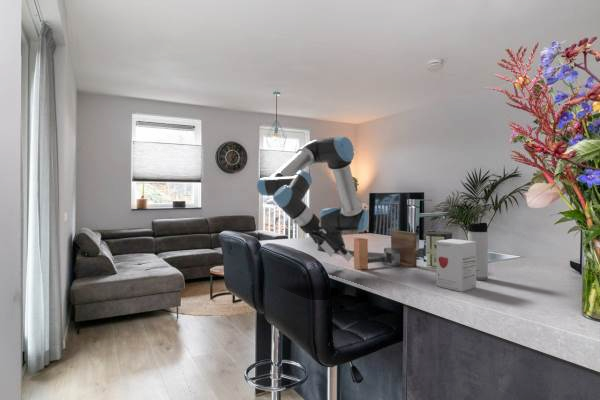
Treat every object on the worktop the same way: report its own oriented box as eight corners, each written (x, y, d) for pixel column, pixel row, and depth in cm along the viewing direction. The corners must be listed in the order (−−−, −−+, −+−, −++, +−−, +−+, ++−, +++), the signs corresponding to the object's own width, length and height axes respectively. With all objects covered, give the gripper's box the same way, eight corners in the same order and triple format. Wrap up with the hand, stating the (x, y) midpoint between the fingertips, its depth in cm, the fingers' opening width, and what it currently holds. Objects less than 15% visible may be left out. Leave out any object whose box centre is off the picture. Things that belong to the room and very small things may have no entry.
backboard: (407, 267, 147) (406, 233, 147) (385, 262, 160) (385, 230, 160) (416, 266, 149) (416, 233, 149) (394, 261, 162) (394, 230, 162)
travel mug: (476, 281, 124) (475, 223, 123) (464, 276, 130) (464, 221, 130) (492, 280, 125) (492, 222, 124) (480, 276, 131) (479, 221, 131)
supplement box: (435, 286, 117) (435, 240, 117) (451, 282, 123) (450, 238, 123) (461, 292, 110) (461, 243, 110) (477, 287, 115) (477, 240, 115)
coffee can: (446, 263, 155) (446, 231, 154) (456, 268, 144) (456, 233, 144) (422, 264, 155) (422, 231, 155) (430, 269, 144) (430, 234, 144)
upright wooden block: (359, 269, 144) (359, 239, 144) (354, 267, 148) (353, 238, 147) (387, 266, 149) (387, 237, 149) (381, 264, 153) (381, 236, 153)
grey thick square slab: (394, 267, 149) (394, 250, 149) (384, 264, 155) (383, 248, 155) (400, 266, 150) (399, 249, 150) (389, 263, 156) (389, 247, 156)
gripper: (287, 224, 147) (320, 258, 153) (314, 229, 124) (352, 269, 130) (299, 211, 149) (331, 245, 155) (328, 214, 126) (364, 253, 132)
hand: (341, 256), depth 143 cm, fingers open, 13 cm apart
